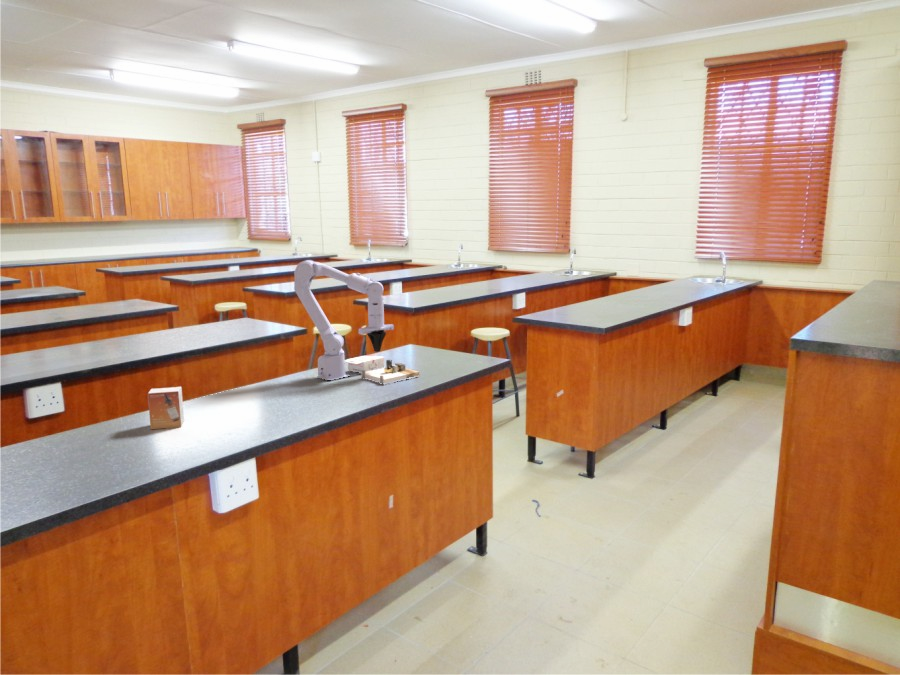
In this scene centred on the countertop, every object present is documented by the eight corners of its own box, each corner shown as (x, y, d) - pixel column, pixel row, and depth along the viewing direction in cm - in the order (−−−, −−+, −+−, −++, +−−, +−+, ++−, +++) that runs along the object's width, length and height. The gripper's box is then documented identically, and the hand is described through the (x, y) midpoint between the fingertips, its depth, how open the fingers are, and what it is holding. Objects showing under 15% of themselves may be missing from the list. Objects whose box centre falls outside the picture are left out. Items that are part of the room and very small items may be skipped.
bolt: (387, 372, 219) (387, 361, 218) (384, 371, 220) (384, 360, 219) (404, 369, 224) (404, 358, 223) (401, 368, 225) (401, 357, 225)
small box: (150, 430, 166) (146, 393, 164) (154, 423, 171) (150, 388, 169) (181, 427, 168) (178, 391, 166) (184, 421, 173) (181, 385, 171)
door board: (383, 385, 210) (382, 373, 209) (360, 378, 220) (359, 366, 220) (406, 379, 217) (406, 368, 217) (383, 373, 227) (383, 361, 227)
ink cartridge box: (369, 366, 240) (341, 372, 228) (369, 354, 239) (341, 359, 227) (384, 369, 235) (357, 376, 223) (384, 356, 234) (357, 362, 222)
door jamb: (408, 379, 218) (407, 367, 217) (384, 373, 228) (384, 361, 227) (419, 377, 221) (419, 365, 221) (395, 370, 231) (395, 359, 231)
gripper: (366, 318, 211) (367, 355, 214) (398, 313, 221) (399, 349, 224) (354, 316, 216) (356, 352, 219) (386, 311, 226) (387, 347, 229)
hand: (377, 351), depth 222 cm, fingers closed
